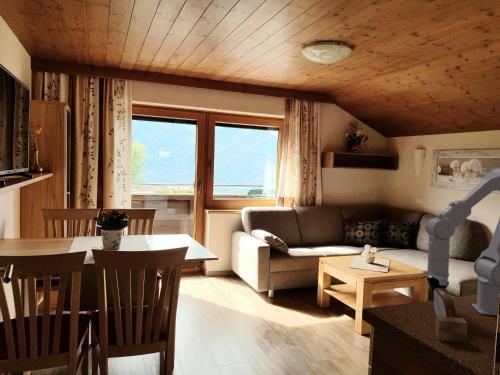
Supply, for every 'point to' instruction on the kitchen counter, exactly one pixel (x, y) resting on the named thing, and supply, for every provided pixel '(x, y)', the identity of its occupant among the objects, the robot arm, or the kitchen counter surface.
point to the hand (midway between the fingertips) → (436, 302)
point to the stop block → (451, 329)
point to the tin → (443, 303)
